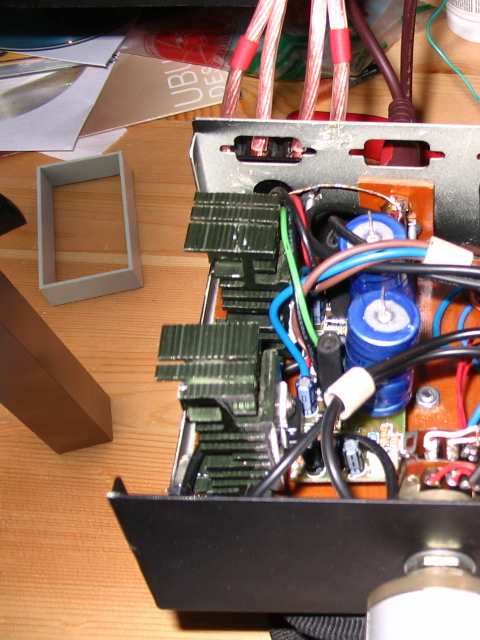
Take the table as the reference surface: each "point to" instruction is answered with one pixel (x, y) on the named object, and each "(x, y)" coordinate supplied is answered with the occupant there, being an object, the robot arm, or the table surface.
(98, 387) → the brown wooden bar
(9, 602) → the table surface
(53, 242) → the grey hollow rectangular frame
